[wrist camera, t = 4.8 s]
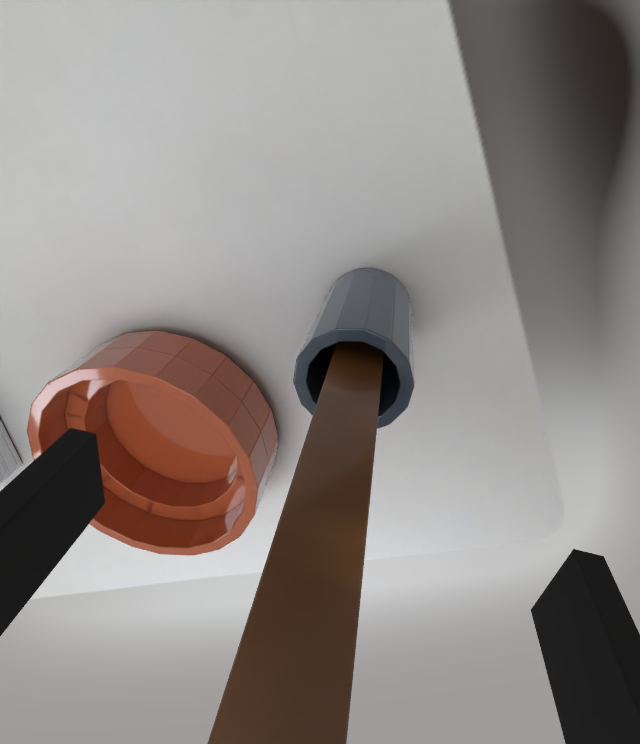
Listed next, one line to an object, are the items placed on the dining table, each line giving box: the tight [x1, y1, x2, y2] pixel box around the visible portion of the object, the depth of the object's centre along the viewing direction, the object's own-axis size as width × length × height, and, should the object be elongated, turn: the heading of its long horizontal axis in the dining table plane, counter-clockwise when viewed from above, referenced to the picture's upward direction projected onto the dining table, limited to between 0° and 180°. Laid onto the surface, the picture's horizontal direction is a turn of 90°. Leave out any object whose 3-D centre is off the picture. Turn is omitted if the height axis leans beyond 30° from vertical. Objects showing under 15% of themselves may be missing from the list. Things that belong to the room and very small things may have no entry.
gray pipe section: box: [293, 268, 414, 429], centre depth 23 cm, size 5×5×9 cm
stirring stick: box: [208, 341, 384, 744], centre depth 17 cm, size 2×2×22 cm
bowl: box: [27, 331, 278, 555], centre depth 31 cm, size 16×16×6 cm
